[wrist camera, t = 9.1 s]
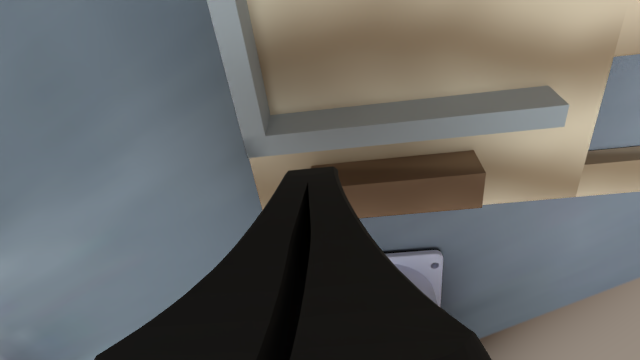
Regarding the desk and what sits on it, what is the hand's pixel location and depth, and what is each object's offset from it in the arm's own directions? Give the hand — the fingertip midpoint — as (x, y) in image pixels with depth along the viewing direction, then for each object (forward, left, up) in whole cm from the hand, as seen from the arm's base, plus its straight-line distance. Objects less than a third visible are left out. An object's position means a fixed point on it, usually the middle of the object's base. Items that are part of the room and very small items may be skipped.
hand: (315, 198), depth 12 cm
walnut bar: (-5, -3, -9) cm, 11 cm away
